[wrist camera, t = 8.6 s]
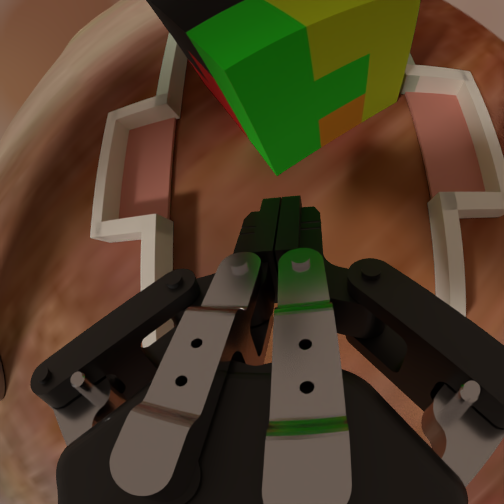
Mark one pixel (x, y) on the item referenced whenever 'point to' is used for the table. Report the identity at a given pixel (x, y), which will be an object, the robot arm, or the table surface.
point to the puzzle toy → (295, 64)
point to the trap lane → (429, 136)
